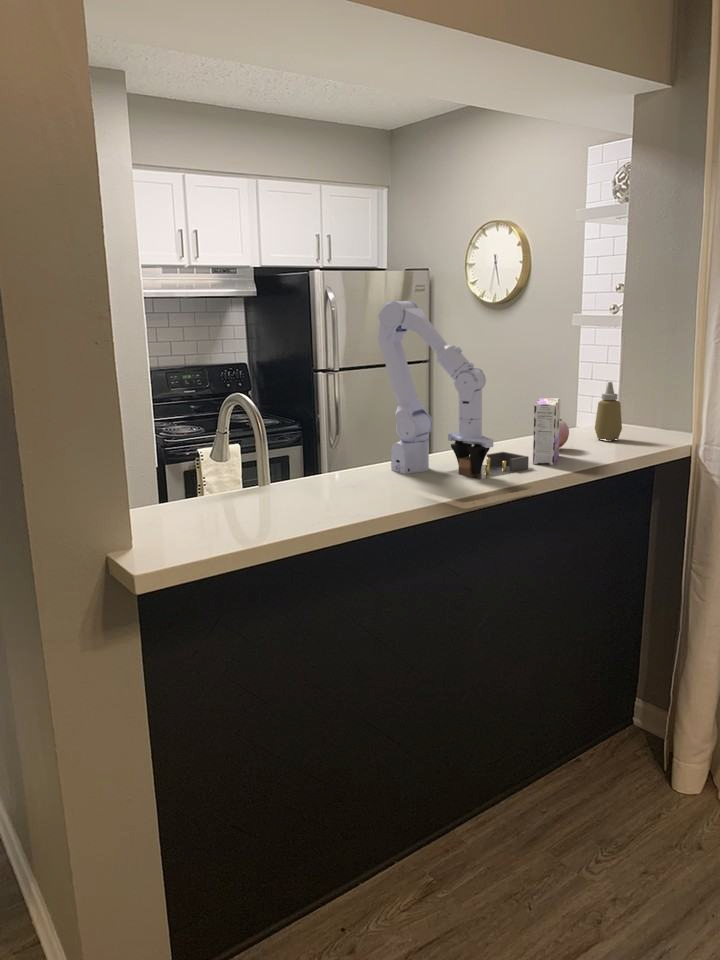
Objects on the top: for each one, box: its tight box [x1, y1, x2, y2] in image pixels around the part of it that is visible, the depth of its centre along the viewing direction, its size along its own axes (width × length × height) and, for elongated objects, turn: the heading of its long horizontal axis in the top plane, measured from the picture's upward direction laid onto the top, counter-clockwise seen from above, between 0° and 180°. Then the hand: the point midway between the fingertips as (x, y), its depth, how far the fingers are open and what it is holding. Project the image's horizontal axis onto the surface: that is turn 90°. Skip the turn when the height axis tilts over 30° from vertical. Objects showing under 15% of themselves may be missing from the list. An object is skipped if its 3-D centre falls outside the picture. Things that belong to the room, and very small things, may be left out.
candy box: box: [532, 397, 561, 466], centre depth 213 cm, size 14×6×16 cm, turn 161°
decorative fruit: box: [559, 418, 570, 449], centre depth 228 cm, size 9×8×10 cm
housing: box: [486, 451, 529, 471], centre depth 201 cm, size 6×9×3 cm, turn 34°
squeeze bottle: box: [594, 381, 623, 440], centre depth 240 cm, size 8×8×18 cm
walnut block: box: [458, 455, 482, 477], centre depth 194 cm, size 4×4×4 cm
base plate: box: [446, 457, 535, 480], centre depth 198 cm, size 19×12×4 cm, turn 124°
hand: (470, 472), depth 194 cm, fingers closed on walnut block, 4 cm apart
